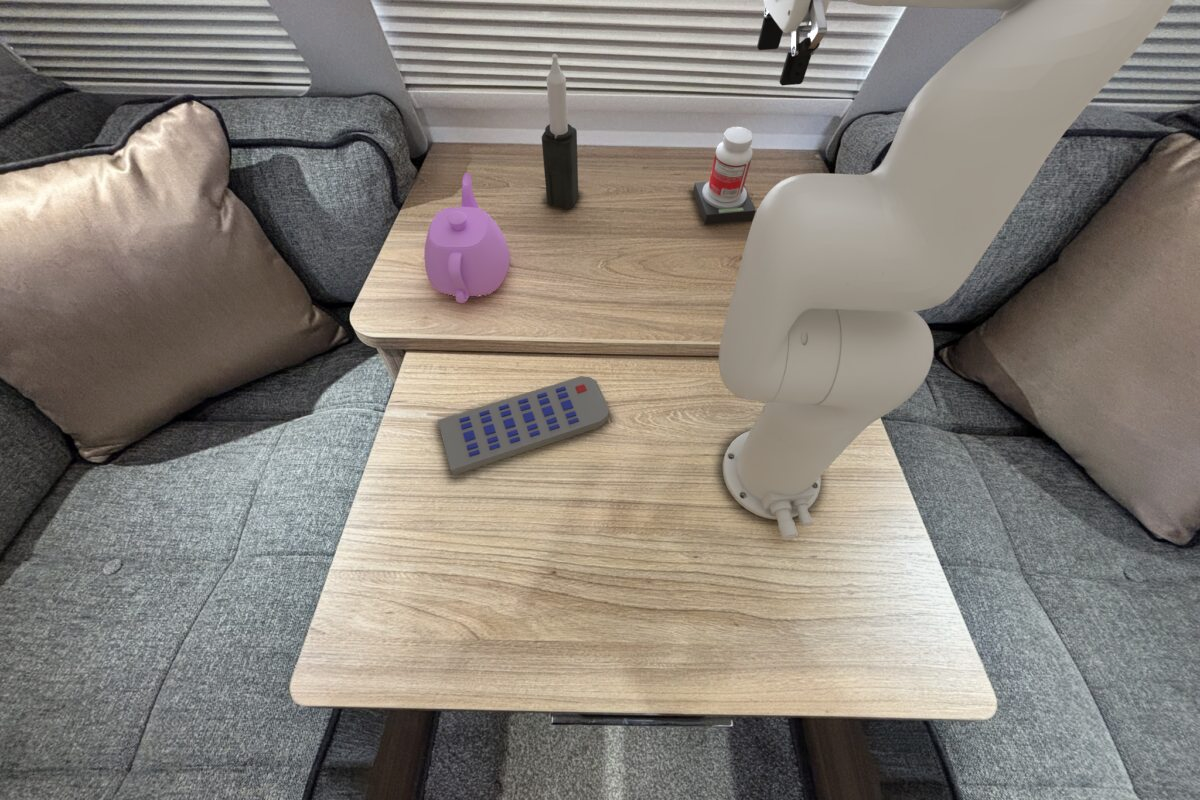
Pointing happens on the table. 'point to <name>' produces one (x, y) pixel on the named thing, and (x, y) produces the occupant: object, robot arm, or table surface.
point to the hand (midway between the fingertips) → (778, 65)
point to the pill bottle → (731, 165)
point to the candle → (559, 144)
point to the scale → (722, 206)
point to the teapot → (465, 249)
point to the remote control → (522, 423)
